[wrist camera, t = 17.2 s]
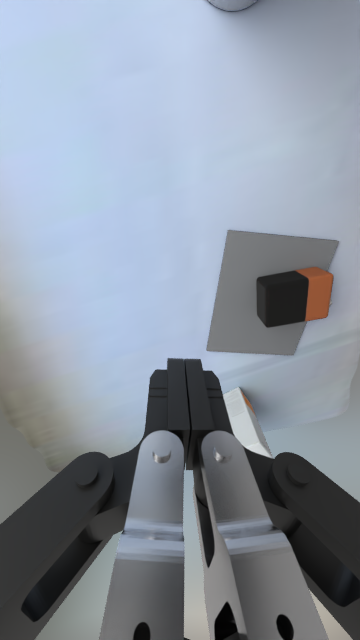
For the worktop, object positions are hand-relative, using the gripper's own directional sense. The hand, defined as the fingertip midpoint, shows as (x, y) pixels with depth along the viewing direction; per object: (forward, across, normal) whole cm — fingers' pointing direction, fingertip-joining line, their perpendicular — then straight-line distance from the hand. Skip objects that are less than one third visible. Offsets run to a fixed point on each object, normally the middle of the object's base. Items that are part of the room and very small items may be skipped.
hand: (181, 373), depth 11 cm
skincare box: (+25, -15, +29) cm, 41 cm away
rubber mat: (+25, -15, +7) cm, 30 cm away
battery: (+22, -13, +6) cm, 26 cm away
